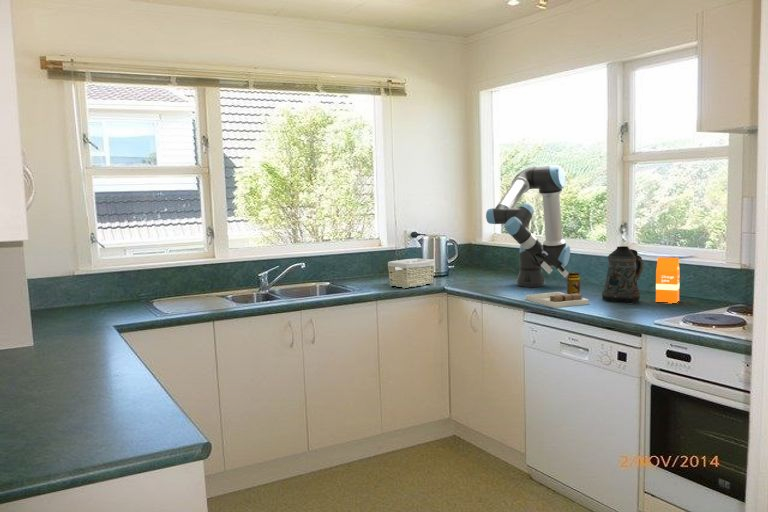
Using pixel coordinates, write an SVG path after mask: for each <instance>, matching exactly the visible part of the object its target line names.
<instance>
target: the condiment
mask: <svg viewBox="0 0 768 512" xmlns="http://www.w3.org/2000/svg"><path fill="white" fill-rule="evenodd" d="M568 273H569V274H568V275H567V277H566V294H577V293H578V294H581V277H580V272H578V271H568Z"/></svg>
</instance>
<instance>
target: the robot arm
mask: <svg viewBox="0 0 768 512" xmlns="http://www.w3.org/2000/svg"><path fill="white" fill-rule="evenodd" d="M566 182H567V179H566V173H565V171H564V169H563V168H562V167H561V166H560V165H553V164H552V165H551V164H549V165H539V166H538V165H537V166H530V167H527V168H525V169H523V170H522V171H520V172H519V173H517V174H516V175H515V176H514V177H513V179H512V181H511V185H510V187H509V188H508V189H507V191H506V192H505V194H504V195H503V197H502V198H501V199H500V201H499V202H498V204H497V205H496V206H495V207H494V208H489V209H487V210H486V212H485V213H486V214H485V219H486V222H487V223H488V224H491V225H504V229H505V231H506V232H507V233H508V234H509V236H511V237H512V238H513V239H514V240H515V241H516V243H518V244H519V251H518V255H519V272H518V276H517V279H516V286H517V285H518V287H522V286H523V287H526V288H537V287H539V286H540V287H543V286H546V280H545V277H544V274H543V270H544V271H545V272H546V273H547V274H548V275H551V273H552V272H553V268H555V270H557V271H558V272H559V273H560V274H561V275H562V276H563V277H564V278H566V279H567V277H568V274H569V271H568V270H566V268H565V267H566V266H567V265H568V263H569V261H570V258H571V247H570V246H569V245H568V244H567V242H566V240H565V239H564V238H563V229H562V228H563V225H562V213H561V212H562V211H561V199H560V194H561V193H562V192H563V189H564V188H565V187H566ZM537 189H538V193H539V195H541V196H542V207H543V221H544V223H543V224H544V235H545V240H544V241H543V242H541V241H539V239H537V238H536V236H535V235H534V233H532V232H531V231H530V230H529V229H528V227H529V225H530V222H531V220H532V218H533V215H534V212H535V211H534V208H533V206H532V205H531V204H529V203H521V204H520V205H519V206H518V207H517V208H515V207H516V205H517V204H518V203H519V201H520V200H521V198H522V196H523V195H524V194H525V193H527V192H528V191H530V190H537ZM542 269H543V270H542Z"/></svg>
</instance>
